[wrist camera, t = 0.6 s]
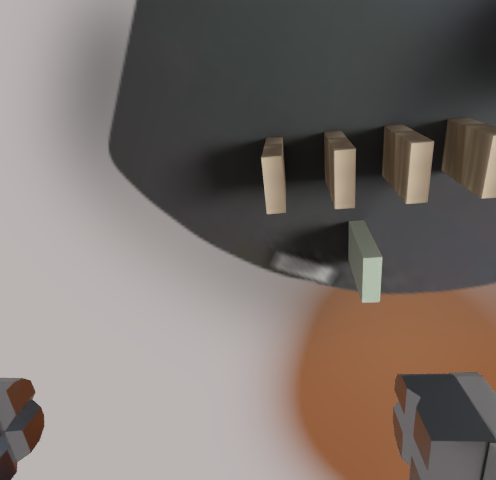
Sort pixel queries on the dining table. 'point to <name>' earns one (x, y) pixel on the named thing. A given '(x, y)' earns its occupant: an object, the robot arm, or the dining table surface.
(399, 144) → the domino
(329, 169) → the domino
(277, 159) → the domino
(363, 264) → the end domino
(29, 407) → the robot arm
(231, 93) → the dining table surface
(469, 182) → the domino
